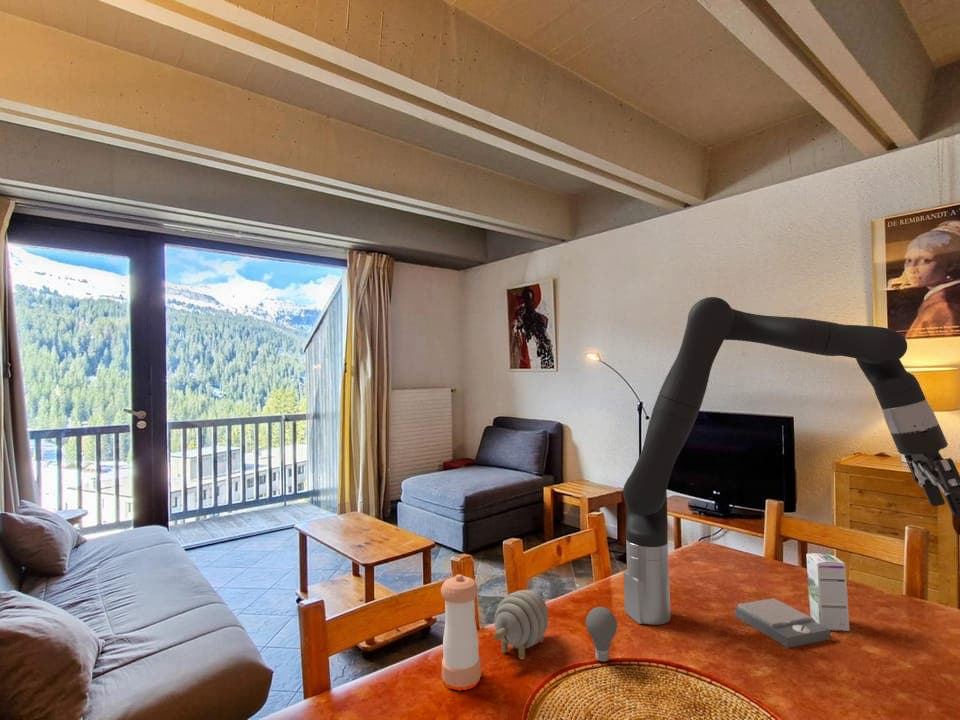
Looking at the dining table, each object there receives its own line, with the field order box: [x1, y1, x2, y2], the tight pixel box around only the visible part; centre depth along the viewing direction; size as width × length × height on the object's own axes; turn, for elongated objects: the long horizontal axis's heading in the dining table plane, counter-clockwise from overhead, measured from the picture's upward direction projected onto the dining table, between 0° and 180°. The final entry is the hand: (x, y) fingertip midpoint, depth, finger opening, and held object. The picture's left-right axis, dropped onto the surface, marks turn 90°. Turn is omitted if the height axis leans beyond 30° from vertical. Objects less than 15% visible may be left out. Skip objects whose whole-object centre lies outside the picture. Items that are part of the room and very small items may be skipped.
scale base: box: [734, 606, 831, 649], centre depth 109 cm, size 11×14×2 cm
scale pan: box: [737, 597, 812, 628], centre depth 110 cm, size 10×10×1 cm
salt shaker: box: [440, 573, 482, 687], centre depth 93 cm, size 7×7×19 cm
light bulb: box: [585, 606, 618, 662], centre depth 98 cm, size 6×6×10 cm
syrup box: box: [806, 552, 850, 632], centre depth 110 cm, size 6×6×14 cm
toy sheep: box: [493, 589, 549, 659], centre depth 103 cm, size 11×17×11 cm, turn 148°
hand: (949, 509), depth 94 cm, fingers open, 8 cm apart
